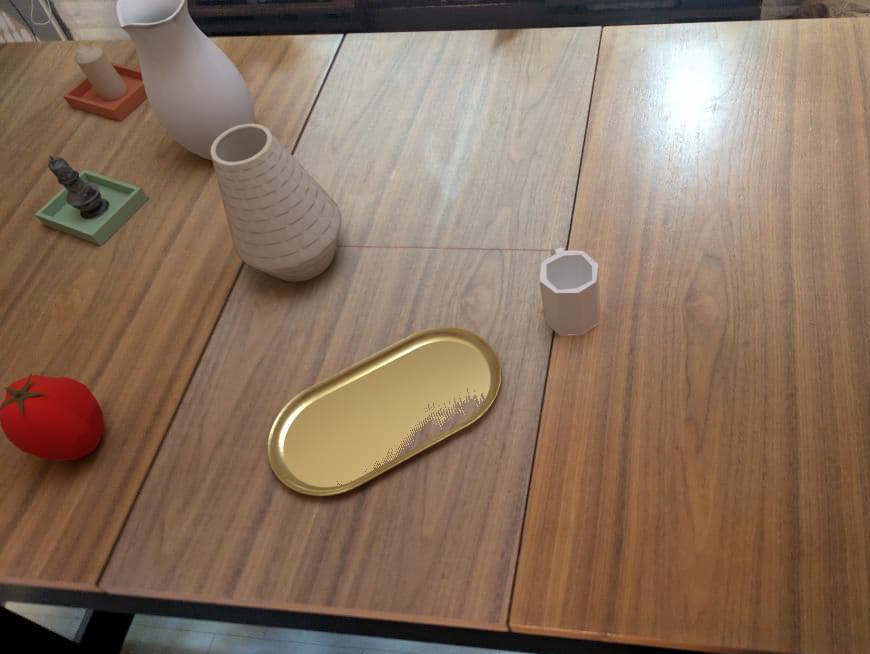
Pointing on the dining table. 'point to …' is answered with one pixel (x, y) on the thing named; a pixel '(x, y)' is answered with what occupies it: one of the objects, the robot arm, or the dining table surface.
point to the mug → (570, 292)
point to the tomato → (51, 417)
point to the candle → (100, 72)
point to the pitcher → (185, 74)
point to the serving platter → (379, 409)
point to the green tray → (100, 229)
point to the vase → (274, 205)
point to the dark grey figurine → (79, 190)
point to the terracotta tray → (118, 109)
